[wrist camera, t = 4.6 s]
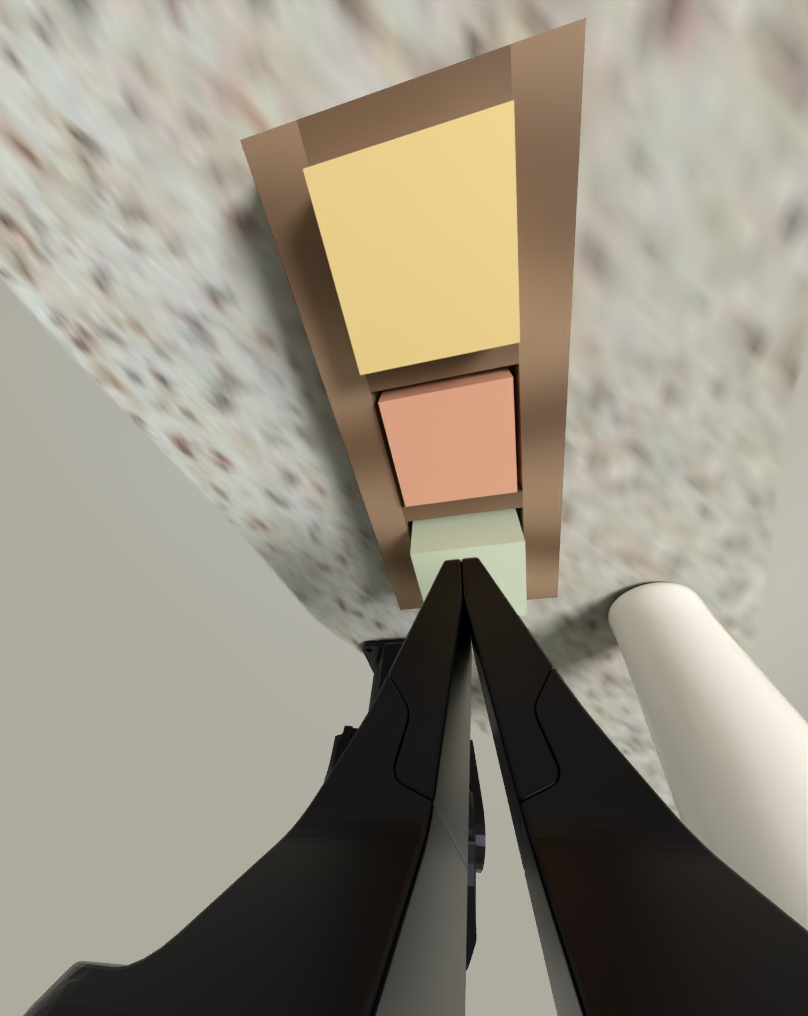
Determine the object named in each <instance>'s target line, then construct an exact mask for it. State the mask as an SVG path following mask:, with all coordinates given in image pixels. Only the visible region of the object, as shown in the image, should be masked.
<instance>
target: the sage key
mask: <svg viewBox="0 0 808 1016" xmlns="http://www.w3.org/2000/svg"><path fill="white" fill-rule="evenodd" d="M410 555H411V559H412V563H413V566H414V570H415V573H416V577H417V580H418V584H419V588H420V591H421V595H422V598H423V602H424V601H425V599H426V597H427V595H428V593H429V591H430V589H431V586H432V584H433V582H434V580H435V578H436V576H437V574H438V572H439V570H440V568H441V566H442V564H443V562H444V561H446V560H452V559H460V560H461V562H462V559H463V558H472V557H477V558H479V559H480V561H481V562H482V564H483V565H484V566H485V568H486V569H487V571H488V572H489V574H490V575H491V577H492V578H493V579H494V581H495V582H496V584H497V585H498V587H499V588H500V590H501V591H502V592H503V594H504V595H505V597H506V598H507V600H508V601H509V603H510V604H511V605H512V607H513V608H514V610H515V611H516V613H517V614H518V615H519V616H521V615H527V593H526V553H525V539H524V536H523V533H522V529H521V526H520V522H519V519H518V516H517V512H516V509H515V508H513V509H505V510H497V511H489V512H481V513H473V514H465V515H457V516H449V517H441V518H432V519H424V520H416V521H413V525H412V537H411V549H410Z"/></svg>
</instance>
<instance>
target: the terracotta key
mask: <svg viewBox="0 0 808 1016" xmlns="http://www.w3.org/2000/svg"><path fill="white" fill-rule="evenodd" d="M378 404H379V408H380V411H381V415H382V419H383V423H384V427H385V431H386V434H387V438H388V442H389V446H390V450H391V453H392V457H393V461H394V465H395V469H396V473H397V476H398V480H399V484H400V488H401V492H402V495H403V499H404V503H405V507H409V506H416V505H424V504H431V503H439V502H446V501H454V500H461V499H469V498H476V497H484V496H492V495H499V494H507V493H514V492H517V469H516V442H515V416H514V389H513V376H512V374H511V373H510V371H509V369H508V367H507V366H504V367H499V368H493V369H488V370H483V371H478V372H473V373H468V374H463V375H458V376H453V377H447V378H442V379H437V380H432V381H427V382H422V383H417V384H412V385H407V386H401V387H396V388H391V389H386V390H383V391H382V393H381V396H380V399H379V402H378Z"/></svg>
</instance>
